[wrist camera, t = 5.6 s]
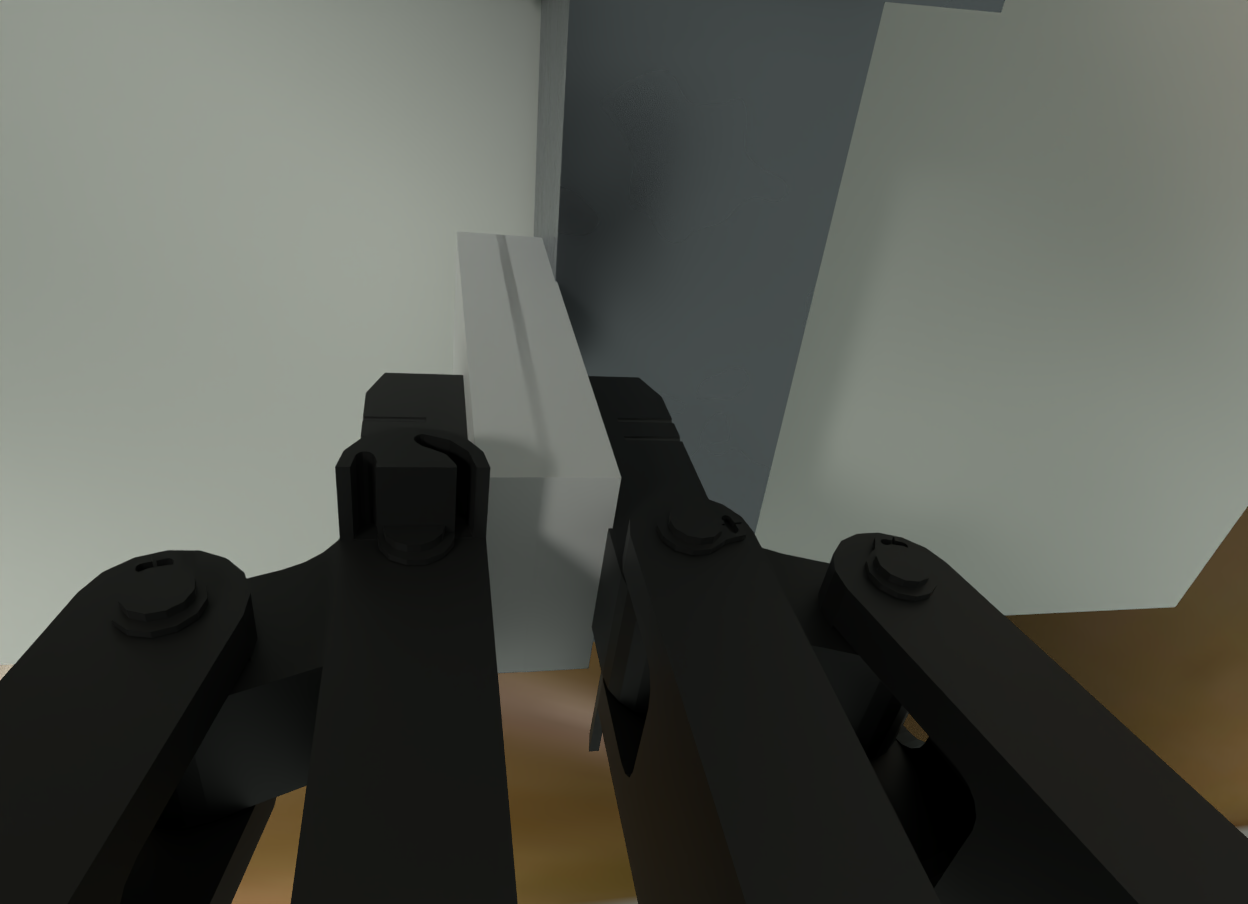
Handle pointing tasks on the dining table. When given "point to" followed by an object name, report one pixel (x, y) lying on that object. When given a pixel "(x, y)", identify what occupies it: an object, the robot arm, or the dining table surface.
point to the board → (504, 204)
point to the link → (699, 199)
